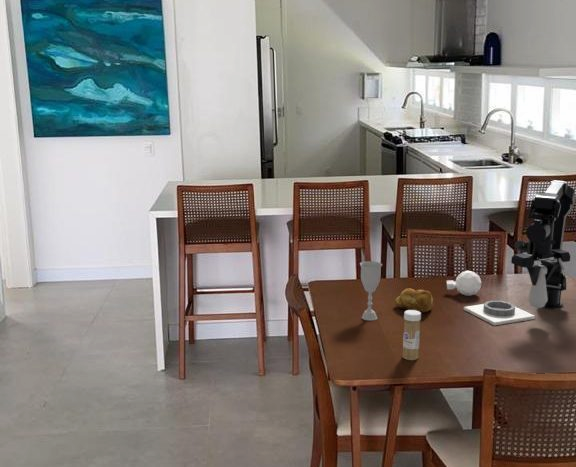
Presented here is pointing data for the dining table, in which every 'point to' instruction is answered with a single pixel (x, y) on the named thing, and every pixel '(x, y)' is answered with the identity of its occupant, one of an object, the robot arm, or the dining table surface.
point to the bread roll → (415, 300)
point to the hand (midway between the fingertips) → (538, 284)
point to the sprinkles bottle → (411, 334)
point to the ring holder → (499, 312)
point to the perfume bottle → (466, 283)
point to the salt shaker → (539, 290)
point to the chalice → (370, 284)
